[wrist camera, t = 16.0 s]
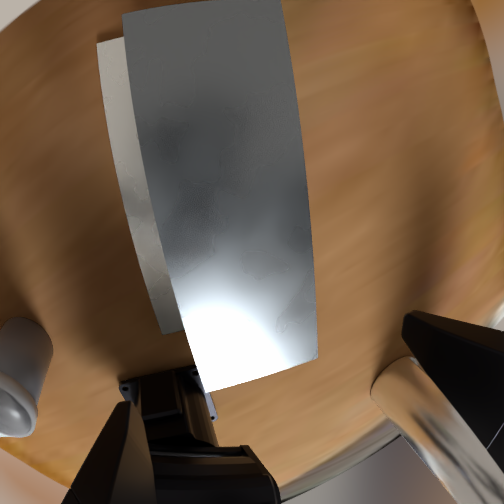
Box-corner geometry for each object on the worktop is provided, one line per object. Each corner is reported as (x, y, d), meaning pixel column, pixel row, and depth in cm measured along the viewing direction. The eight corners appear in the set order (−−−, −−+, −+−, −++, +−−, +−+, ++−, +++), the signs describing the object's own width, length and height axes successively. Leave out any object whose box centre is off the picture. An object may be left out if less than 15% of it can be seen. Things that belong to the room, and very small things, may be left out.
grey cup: (66, 363, 20) (49, 435, 13) (18, 371, 19) (-6, 437, 12) (38, 308, 18) (5, 375, 12) (-11, 320, 17) (-49, 381, 11)
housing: (287, 293, 23) (354, 373, 15) (161, 326, 21) (173, 430, 13) (252, 24, 16) (322, -40, 8) (99, 48, 14) (58, -17, 6)
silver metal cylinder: (363, 385, 29) (510, 562, 7) (411, 345, 30) (572, 499, 7) (378, 409, 32) (500, 557, 10) (420, 373, 32) (552, 507, 10)
